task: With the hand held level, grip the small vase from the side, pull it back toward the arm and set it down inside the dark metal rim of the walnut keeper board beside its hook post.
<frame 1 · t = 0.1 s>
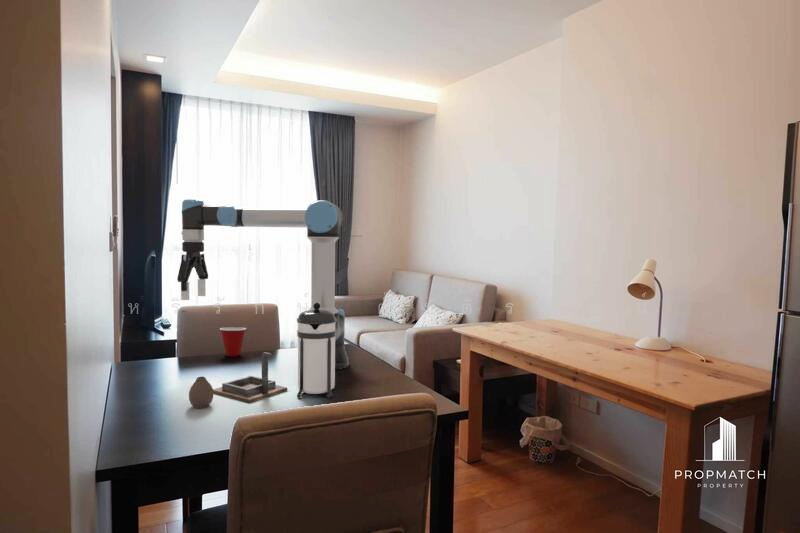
hand: (193, 298, 192), 28 cm above the table, tool pointing down, fingers open, 13 cm apart
vase: (201, 406, 154), on the table
plastic cup: (233, 355, 221), on the table
coffee press: (315, 393, 169), on the table
keeper: (249, 391, 169), on the table
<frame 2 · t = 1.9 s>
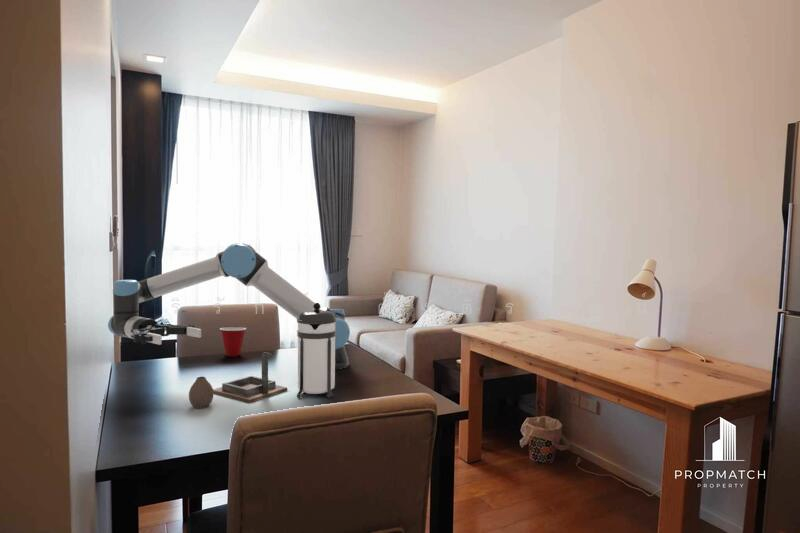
hand: (181, 336, 158), 20 cm above the table, tool horizontal, fingers open, 13 cm apart
nothing on the table moved.
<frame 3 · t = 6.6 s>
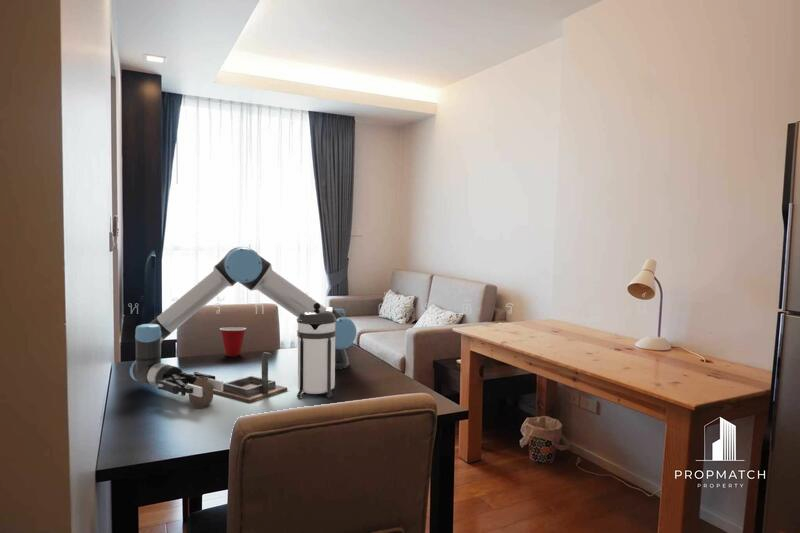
hand: (211, 389, 151), 6 cm above the table, tool horizontal, fingers closed on vase, 6 cm apart
vase: (201, 406, 154), on the table, touching gripper
everything else where it was.
when the fingers open (8 cm above the table, at t = 12.3 s): vase drops 1 cm, resting on keeper.
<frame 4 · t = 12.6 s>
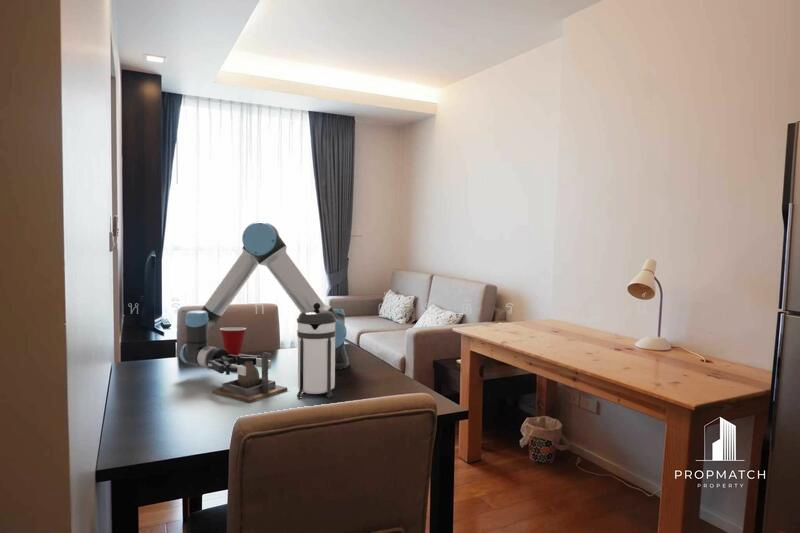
hand: (258, 367, 166), 8 cm above the table, tool horizontal, fingers open, 10 cm apart
vase: (248, 388, 169), point 1 cm above the table, touching keeper
everything else where it was.
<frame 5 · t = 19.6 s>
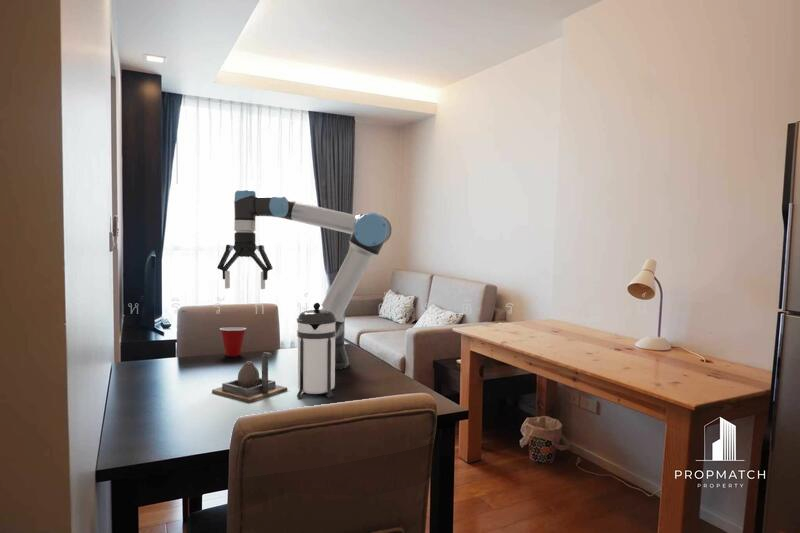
hand: (245, 288, 192), 32 cm above the table, tool pointing down, fingers open, 13 cm apart
nothing on the table moved.
at the end: vase 0.2 cm off-centre on the keeper, point 0.8 cm above the keeper's base; vase tilted 0°; the gripper is holding nothing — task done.
